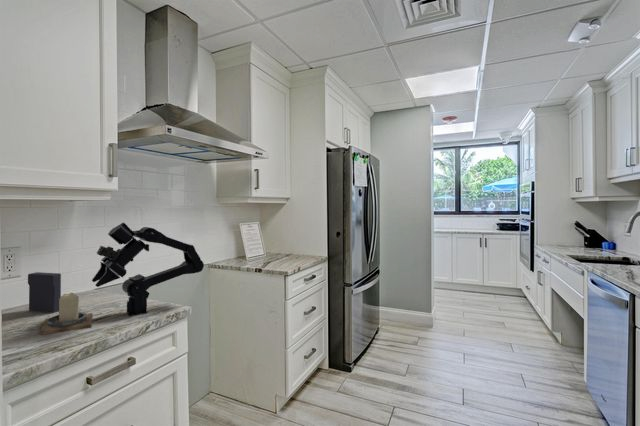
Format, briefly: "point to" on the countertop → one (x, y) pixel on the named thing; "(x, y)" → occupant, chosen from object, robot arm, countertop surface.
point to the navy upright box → (44, 292)
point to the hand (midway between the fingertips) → (94, 283)
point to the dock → (66, 323)
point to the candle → (68, 307)
